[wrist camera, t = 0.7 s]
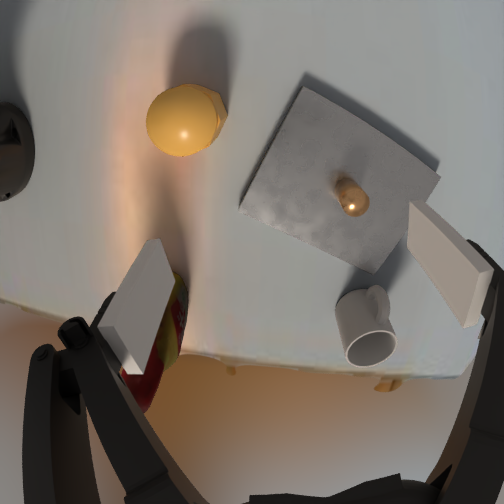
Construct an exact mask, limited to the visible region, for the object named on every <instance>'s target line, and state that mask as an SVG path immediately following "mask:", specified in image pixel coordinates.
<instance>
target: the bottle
mask: <svg viewBox="0 0 504 504" xmlns="http://www.w3.org/2000/svg"><path fill="white" fill-rule="evenodd" d="M172 273H173V276H174V279H175V283H174V286H173V289H172V291H171V294H170V297H169V300H168V303H167V305H166V308H165V311H164V314H163V317H162V320H161V322H160V325H159V328H158V331H157V334H156V337H155V340H154V343H153V346H152V349H151V352H150V355H149V358H148V361H147V364H146V367H145V370H144V374H127V372H126V371H125V369H124V368H123V371H122V374H121V376H122V377H123V379H124V381H125V383H126V385H127V387H128V388H129V390H130V392H131V394H132V395H133V397H134V399H135V401H136V402H137V404H138V406H139V407H140V409H141V411H142V412H143V413H145V412H146V411H147V410H148V408H149V407H150V405H151V402H152V400H153V398H154V396H155V393H156V391H157V388H158V386H159V383H160V380H161V376H162V374H163V372H164V371H165V370H166V369H168V368H169V367H170V366H171V365H172V364H173V363H174V362H175V361H176V359H177V358H178V356H179V353H180V349H181V344H182V340H183V336H184V330H185V326H186V322H187V314H188V292H187V289H186V286H185V284H184V282H183V280H182V278H181V277H180V276H179V275H178V274H176V273H174V272H172Z"/></svg>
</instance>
